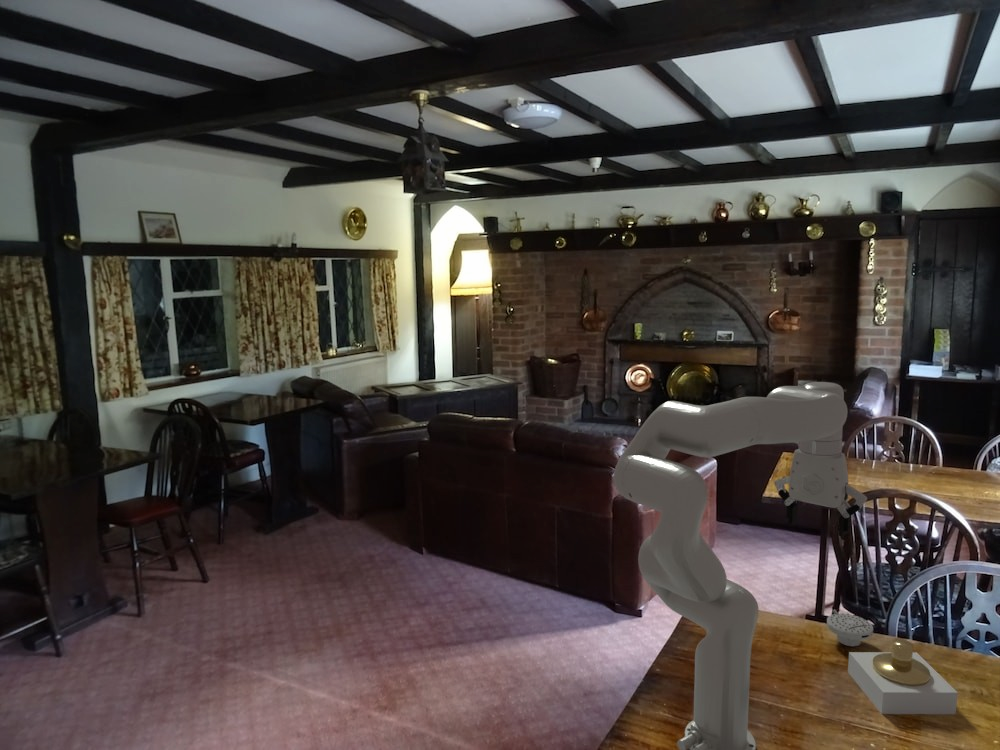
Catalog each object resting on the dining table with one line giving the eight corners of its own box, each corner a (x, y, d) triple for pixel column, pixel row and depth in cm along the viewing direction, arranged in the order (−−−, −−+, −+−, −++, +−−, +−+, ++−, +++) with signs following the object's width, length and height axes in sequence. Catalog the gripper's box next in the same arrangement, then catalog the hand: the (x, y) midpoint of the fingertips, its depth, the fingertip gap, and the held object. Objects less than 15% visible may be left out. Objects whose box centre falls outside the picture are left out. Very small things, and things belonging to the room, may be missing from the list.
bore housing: (881, 720, 134) (883, 692, 133) (847, 678, 147) (849, 652, 146) (955, 721, 133) (957, 692, 132) (914, 678, 147) (916, 652, 146)
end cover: (886, 707, 135) (890, 657, 134) (861, 677, 145) (865, 630, 143) (939, 707, 135) (943, 657, 133) (910, 677, 145) (914, 630, 143)
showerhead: (849, 605, 164) (883, 626, 154) (848, 634, 165) (881, 656, 155) (816, 611, 161) (848, 632, 152) (814, 640, 162) (846, 663, 153)
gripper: (768, 443, 138) (766, 524, 141) (862, 457, 126) (858, 545, 129) (783, 435, 144) (781, 513, 146) (874, 448, 132) (870, 533, 135)
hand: (817, 528), depth 138 cm, fingers open, 9 cm apart
